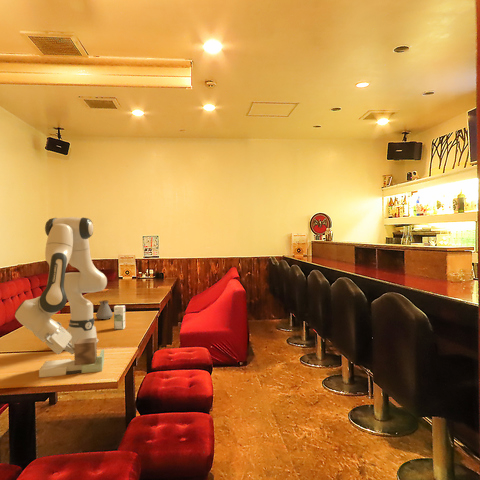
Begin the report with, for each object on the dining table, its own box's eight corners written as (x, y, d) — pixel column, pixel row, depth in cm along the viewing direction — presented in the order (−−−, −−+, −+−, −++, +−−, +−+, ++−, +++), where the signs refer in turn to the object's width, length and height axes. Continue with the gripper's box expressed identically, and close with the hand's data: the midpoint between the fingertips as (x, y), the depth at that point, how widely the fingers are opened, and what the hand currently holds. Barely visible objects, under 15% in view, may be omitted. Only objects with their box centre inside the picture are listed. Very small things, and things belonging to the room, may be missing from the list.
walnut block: (74, 365, 156) (74, 344, 156) (77, 359, 163) (77, 339, 163) (94, 363, 158) (94, 342, 158) (96, 357, 166) (96, 337, 166)
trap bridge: (39, 377, 150) (39, 362, 150) (46, 367, 162) (45, 354, 162) (101, 371, 157) (101, 356, 157) (104, 362, 168) (103, 349, 168)
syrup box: (125, 327, 238) (125, 304, 238) (123, 329, 232) (122, 306, 232) (116, 327, 238) (116, 305, 238) (113, 329, 232) (113, 306, 232)
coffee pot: (96, 318, 269) (96, 297, 269) (113, 316, 273) (112, 296, 273) (94, 324, 249) (94, 301, 249) (112, 322, 252) (112, 300, 252)
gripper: (49, 331, 148) (76, 353, 150) (59, 321, 167) (83, 340, 170) (37, 343, 146) (64, 365, 149) (48, 331, 166) (72, 351, 169)
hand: (74, 352), depth 160 cm, fingers closed, pressing on walnut block
